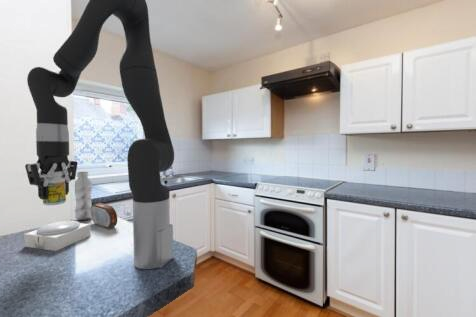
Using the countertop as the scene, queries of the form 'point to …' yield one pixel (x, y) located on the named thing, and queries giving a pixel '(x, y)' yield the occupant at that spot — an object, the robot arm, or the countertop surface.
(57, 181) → the supplement bottle
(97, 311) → the countertop surface
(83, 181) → the plastic bottle
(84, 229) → the kitchen scale
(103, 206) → the tin
